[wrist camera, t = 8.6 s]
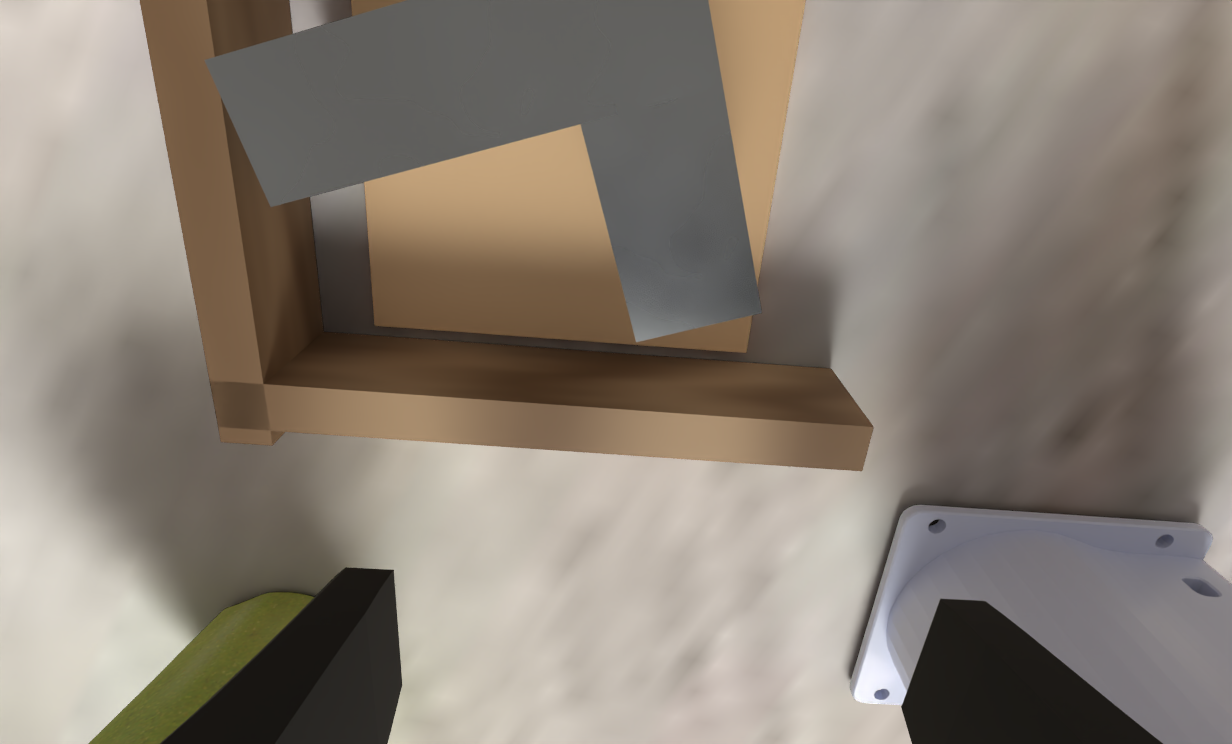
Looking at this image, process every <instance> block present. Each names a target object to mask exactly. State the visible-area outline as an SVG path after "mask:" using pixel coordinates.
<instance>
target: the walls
mask: <svg viewBox="0 0 1232 744" xmlns="http://www.w3.org/2000/svg"><path fill="white" fill-rule="evenodd" d="M140 5H141V10H142V16H143V21H144V27H145V32H146V37H147V43H148V48H149V54H150V59H151V65H152V70H153V76H154V81H155V86H156V92H157V97H158V103H159V108H160V114H161V119H162V124H163V130H164V135H165V141H166V146H167V152H168V157H169V163H170V168H171V173H172V179H173V184H174V190H175V195H176V201H177V206H178V212H179V217H180V222H181V228H182V233H183V239H184V244H185V250H186V255H187V260H188V266H189V271H190V277H191V282H192V288H193V293H194V299H195V304H196V309H197V315H198V320H199V326H200V331H201V337H202V342H203V347H204V353H205V358H206V364H207V369H208V375H209V380H210V386H211V391H212V396H213V402H214V407H215V413H216V418H217V424H218V429H219V435H220V440H221V442H227V443H242V444H257V445H271V446H273V445H274V443H275V442H276V441H277V440H278V439H279V438H280V437H281V436H282V435H283V434H284V433H285V432H297V433H311V434H326V435H340V436H355V437H370V438H384V439H399V440H414V441H428V442H443V443H457V444H472V445H487V446H501V447H516V448H530V449H545V450H560V451H574V452H589V453H603V454H618V455H633V456H647V457H662V458H677V459H691V460H706V461H720V462H735V463H750V464H764V465H779V466H793V467H808V468H823V469H837V470H852V471H862V470H863V466H864V462H865V458H866V455H867V451H868V447H869V443H870V439H871V436H872V432H873V428H874V427H873V425H872V424H871V423H870V421H869V420H868V419H867V417H866V416H865V414H864V413H863V412H862V410H861V409H860V408H859V406H858V405H857V403H856V402H855V401H854V399H853V398H852V397H851V395H850V394H849V392H848V391H847V390H846V388H845V387H844V386H843V384H842V383H841V381H840V380H839V379H838V377H837V376H836V375H835V373H834V372H833V370H832V369H829V368H815V367H802V366H788V365H774V364H760V363H747V362H733V361H719V360H706V359H692V358H678V357H664V356H651V355H637V354H623V353H609V352H596V351H582V350H568V349H554V348H541V347H527V346H513V345H499V344H486V343H472V342H458V341H444V340H431V339H417V338H403V337H390V336H376V335H362V334H348V333H335V332H324V330H323V320H322V311H321V301H320V292H319V282H318V273H317V263H316V254H315V244H314V235H313V225H312V216H311V206H310V197H307V198H303V199H300V200H296V201H292V202H288V203H285V204H281V205H277V206H273V207H270V205H269V202H268V200H267V198H266V196H265V193H264V191H263V189H262V187H261V185H260V182H259V180H258V178H257V176H256V174H255V171H254V169H253V167H252V165H251V163H250V160H249V158H248V156H247V154H246V151H245V149H244V147H243V145H242V143H241V140H240V138H239V136H238V134H237V132H236V129H235V127H234V125H233V123H232V120H231V118H230V116H229V114H228V112H227V109H226V107H225V105H224V103H223V101H222V98H221V96H220V94H219V92H218V89H217V87H216V85H215V83H214V81H213V78H212V76H211V74H210V72H209V70H208V67H207V65H206V63H205V61H204V60H206V59H209V58H213V57H216V56H220V55H223V54H226V53H230V52H233V51H237V50H240V49H243V48H247V47H250V46H254V45H257V44H260V43H264V42H267V41H270V40H274V39H277V38H281V37H284V36H287V35H291V34H292V25H291V16H290V6H289V0H140Z"/></svg>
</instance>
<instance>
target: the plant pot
mask: <svg viewBox="0 0 1232 744" xmlns="http://www.w3.org/2000/svg"><path fill="white" fill-rule="evenodd" d="M313 598H314V597H312V596H308V595H304V594H298V593H291V592H273V593H266V594H262V595H260V596H257V597H255V598H252V599H250V600H248V601H245V602H243V603H240V604H237V605H234V606H232V607H228V608H226V609H224V610H223V611H222V612H221V613H220V614H219V615H218V616H217V617H216V618H215V619H214V620H213V621H212V622H211V623H210V624H209V625H208V626H207V627H206V628H204V629H203V630H202V631H201V632H200V633H199V634H198V635H197V636H196V637H195V638H194V639H193V640H192V641H191V642H190V643H189V644H188V645H187V646H186V647H185V648H184V649H183V650H182V651H181V652H180V653H179V654H178V655H177V656H176V657H175V659H174V660H173V661H172V662H171V663H170V664H169V665H168V666H167V667H166V668H165V669H164V670H163V671H162V672H161V673H160V674H159V675H158V676H157V677H156V678H155V679H154V680H153V681H152V682H151V683H150V684H149V685H148V686H147V687H146V688H145V689H144V690H143V691H142V692H141V693H140V694H139V695H138V696H136V697H135V698H134V699H133V700H132V701H131V702H130V703H129V704H128V705H127V706H126V707H125V708H124V709H123V710H122V711H121V712H120V713H119V714H118V715H117V716H116V717H115V718H114V719H113V720H112V721H111V722H110V723H109V724H108V725H107V726H106V727H105V728H104V729H103V730H102V731H101V732H100V733H99V734H98V735H97V736H96V737H95V738H94V739H93V740H92V741H91V742H90V743H89V744H160V743H161V742H162V741H163V740H164V739H165V738H166V737H168V736H169V735H170V734H171V733H172V732H173V731H174V730H176V729H177V728H178V727H179V726H180V725H181V724H182V723H184V722H185V721H186V720H187V719H188V718H189V717H190V716H191V715H192V714H194V713H195V712H196V711H197V710H198V709H199V708H200V707H201V706H202V705H203V704H205V703H206V702H207V701H208V700H209V699H210V698H211V697H212V696H213V695H214V694H215V693H216V692H217V691H218V690H219V689H220V688H221V687H223V686H224V685H225V684H226V683H227V682H228V681H229V680H230V679H231V678H232V677H233V676H234V675H235V674H236V673H237V672H238V671H240V670H241V669H242V668H243V667H244V666H245V665H246V664H247V663H248V662H249V661H250V660H251V659H252V658H253V657H254V656H255V655H257V654H258V653H259V652H260V651H261V650H262V649H263V648H264V647H265V646H266V645H267V644H268V643H269V642H270V641H271V640H272V639H273V638H274V637H275V636H276V635H277V634H278V633H279V632H280V631H281V630H282V629H283V628H284V627H285V626H286V625H287V624H288V623H289V622H290V621H291V620H292V619H293V618H294V617H295V616H296V615H297V614H298V613H299V612H300V611H301V610H302V609H303V608H304V607H305V606H306V605H307V604H308V603H309V602H310V601H311V600H312V599H313Z"/></svg>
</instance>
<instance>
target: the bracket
mask: <svg viewBox="0 0 1232 744" xmlns="http://www.w3.org/2000/svg"><path fill="white" fill-rule="evenodd" d="M204 61H205V63H206V65H207V67H208V70H209V72H210V74H211V76H212V78H213V81H214V83H215V85H216V87H217V89H218V92H219V94H220V96H221V98H222V101H223V103H224V105H225V107H226V109H227V112H228V114H229V116H230V118H231V120H232V123H233V125H234V127H235V129H236V132H237V134H238V136H239V138H240V140H241V143H242V145H243V147H244V149H245V151H246V154H247V156H248V158H249V160H250V163H251V165H252V167H253V169H254V171H255V174H256V176H257V178H258V180H259V182H260V185H261V187H262V189H263V191H264V193H265V196H266V198H267V200H268V202H269V205H270V207H273V206H277V205H281V204H285V203H288V202H292V201H296V200H300V199H303V198H307V197H311V196H314V195H318V194H322V193H326V192H329V191H333V190H337V189H341V188H344V187H348V186H352V185H355V184H359V183H363V182H367V181H370V180H374V179H378V178H382V177H385V176H389V175H393V174H397V173H400V172H404V171H408V170H411V169H415V168H419V167H423V166H426V165H430V164H434V163H438V162H441V161H445V160H449V159H453V158H456V157H460V156H464V155H467V154H471V153H475V152H479V151H482V150H486V149H490V148H494V147H497V146H501V145H505V144H509V143H512V142H516V141H520V140H523V139H527V138H531V137H535V136H538V135H542V134H546V133H550V132H553V131H557V130H561V129H564V128H568V127H572V126H576V125H579V124H581V128H582V132H583V136H584V140H585V144H586V148H587V152H588V156H589V160H590V164H591V167H592V171H593V175H594V179H595V183H596V187H597V191H598V195H599V199H600V203H601V207H602V211H603V214H604V218H605V222H606V226H607V230H608V234H609V238H610V242H611V246H612V250H613V254H614V257H615V261H616V265H617V269H618V273H619V277H620V281H621V285H622V289H623V293H624V297H625V300H626V304H627V308H628V312H629V316H630V320H631V324H632V328H633V332H634V336H635V340H636V342H639V341H644V340H648V339H652V338H657V337H661V336H665V335H670V334H674V333H678V332H683V331H687V330H691V329H696V328H700V327H704V326H708V325H713V324H717V323H721V322H726V321H730V320H734V319H739V318H743V317H747V316H752V315H756V314H760V313H762V311H761V305H760V299H759V293H758V287H757V281H756V276H755V270H754V264H753V258H752V252H751V246H750V241H749V235H748V229H747V223H746V217H745V211H744V206H743V200H742V194H741V188H740V182H739V177H738V171H737V165H736V159H735V153H734V147H733V142H732V136H731V130H730V124H729V118H728V112H727V107H726V101H725V95H724V89H723V83H722V77H721V72H720V66H719V60H718V54H717V48H716V42H715V37H714V31H713V25H712V19H711V13H710V7H709V2H708V0H406V1H403V2H399V3H396V4H392V5H389V6H386V7H382V8H379V9H375V10H372V11H369V12H365V13H362V14H359V15H355V16H352V17H348V18H345V19H342V20H338V21H335V22H331V23H328V24H325V25H321V26H318V27H315V28H311V29H308V30H304V31H301V32H298V33H294V34H291V35H287V36H284V37H281V38H277V39H274V40H270V41H267V42H264V43H260V44H257V45H254V46H250V47H247V48H243V49H240V50H237V51H233V52H230V53H226V54H223V55H220V56H216V57H213V58H209V59H206V60H204Z"/></svg>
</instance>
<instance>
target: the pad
mask: <svg viewBox="0 0 1232 744" xmlns="http://www.w3.org/2000/svg"><path fill="white" fill-rule="evenodd" d="M403 1H406V0H351V7H352V16H355V15H359V14H362V13H365V12H369V11H372V10H375V9H379V8H382V7H386V6H389V5H392V4H396V3H399V2H403ZM805 1H806V0H708V2H709V7H710V13H711V19H712V25H713V31H714V37H715V42H716V48H717V54H718V60H719V66H720V72H721V77H722V83H723V89H724V95H725V101H726V107H727V112H728V118H729V124H730V130H731V136H732V142H733V147H734V153H735V159H736V165H737V171H738V177H739V182H740V188H741V194H742V200H743V206H744V211H745V217H746V223H747V229H748V235H749V241H750V246H751V252H752V258H753V264H754V270H755V276H756V281H757V286H758V280H759V275H760V269H761V263H762V257H763V251H764V245H765V239H766V233H767V227H768V221H769V215H770V209H771V203H772V197H773V191H774V185H775V179H776V174H777V168H778V162H779V156H780V150H781V144H782V138H783V132H784V126H785V120H786V114H787V108H788V102H789V96H790V90H791V84H792V78H793V73H794V67H795V61H796V55H797V49H798V43H799V37H800V31H801V25H802V19H803V13H804V7H805ZM364 187H365V201H366V215H367V229H368V243H369V257H370V270H371V284H372V298H373V312H374V326H385V327H399V328H412V329H426V330H440V331H453V332H467V333H481V334H494V335H508V336H522V337H535V338H549V339H563V340H576V341H590V342H604V343H617V344H631V345H645V346H658V347H672V348H686V349H699V350H713V351H727V352H740V353H746V352H747V346H748V340H749V334H750V328H751V322H752V316H753V315H752V316H747V317H743V318H739V319H734V320H730V321H726V322H721V323H717V324H713V325H708V326H704V327H700V328H696V329H691V330H687V331H683V332H678V333H674V334H670V335H665V336H661V337H657V338H652V339H648V340H644V341H639V342H636V340H635V336H634V332H633V328H632V324H631V320H630V316H629V312H628V308H627V304H626V300H625V297H624V293H623V289H622V285H621V281H620V277H619V273H618V269H617V265H616V261H615V257H614V254H613V250H612V246H611V242H610V238H609V234H608V230H607V226H606V222H605V218H604V214H603V211H602V207H601V203H600V199H599V195H598V191H597V187H596V183H595V179H594V175H593V171H592V167H591V164H590V160H589V156H588V152H587V148H586V144H585V140H584V136H583V132H582V128H581V124H579V125H576V126H572V127H568V128H564V129H561V130H557V131H553V132H550V133H546V134H542V135H538V136H535V137H531V138H527V139H523V140H520V141H516V142H512V143H509V144H505V145H501V146H497V147H494V148H490V149H486V150H482V151H479V152H475V153H471V154H467V155H464V156H460V157H456V158H453V159H449V160H445V161H441V162H438V163H434V164H430V165H426V166H423V167H419V168H415V169H411V170H408V171H404V172H400V173H397V174H393V175H389V176H385V177H382V178H378V179H374V180H370V181H367V182H364Z"/></svg>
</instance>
